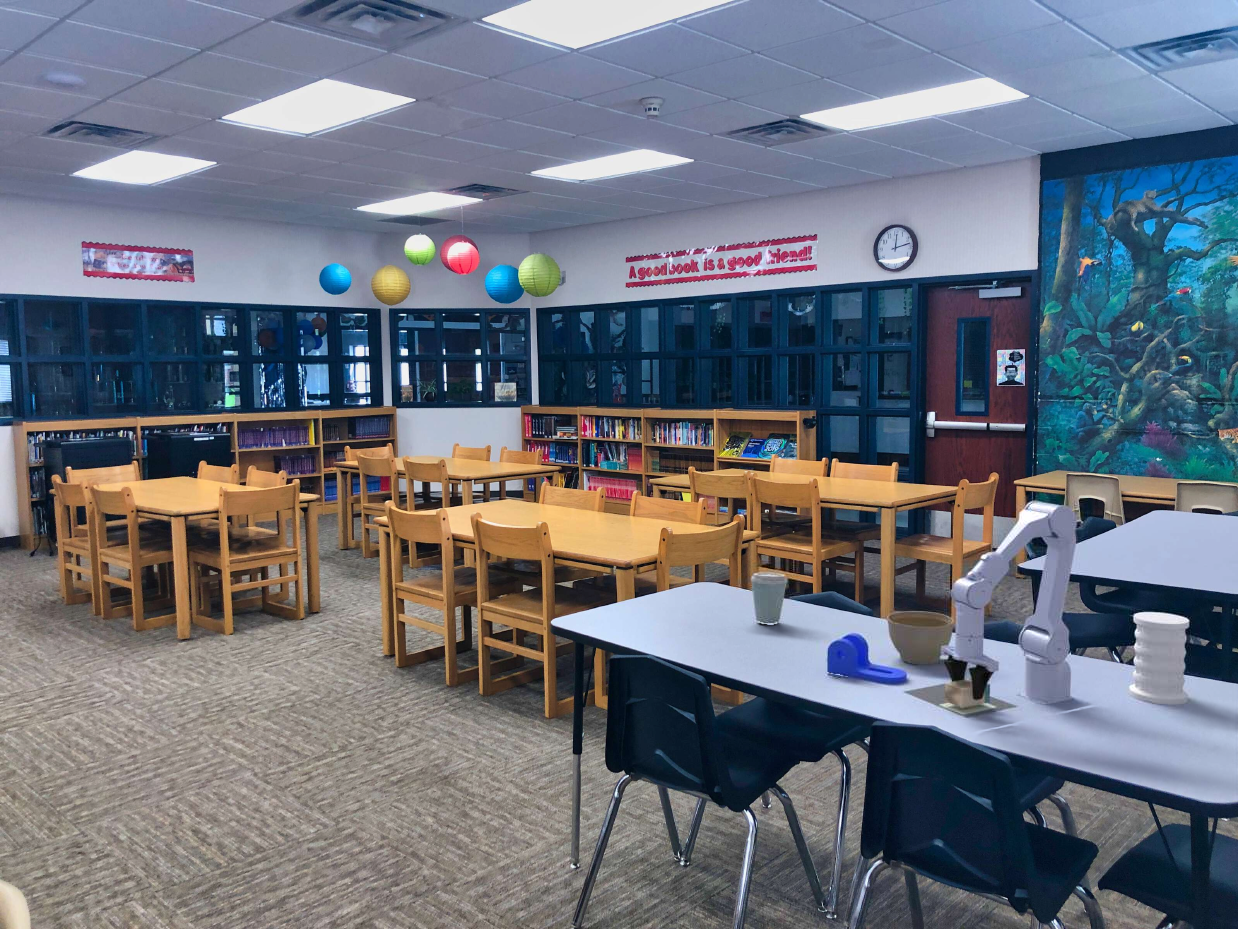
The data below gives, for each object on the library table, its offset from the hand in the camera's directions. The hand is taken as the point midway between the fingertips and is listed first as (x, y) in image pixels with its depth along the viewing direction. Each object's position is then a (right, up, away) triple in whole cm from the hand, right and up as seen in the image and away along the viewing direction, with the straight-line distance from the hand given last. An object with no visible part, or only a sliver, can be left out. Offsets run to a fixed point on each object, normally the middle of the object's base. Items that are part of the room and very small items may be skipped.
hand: (968, 695), depth 210 cm
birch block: (0, -1, 0) cm, 1 cm away
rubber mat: (0, -3, +5) cm, 6 cm away
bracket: (-16, -1, +23) cm, 28 cm away
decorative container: (+45, -2, +7) cm, 46 cm away
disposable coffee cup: (-32, +3, +75) cm, 81 cm away
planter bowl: (+1, 0, +36) cm, 36 cm away
